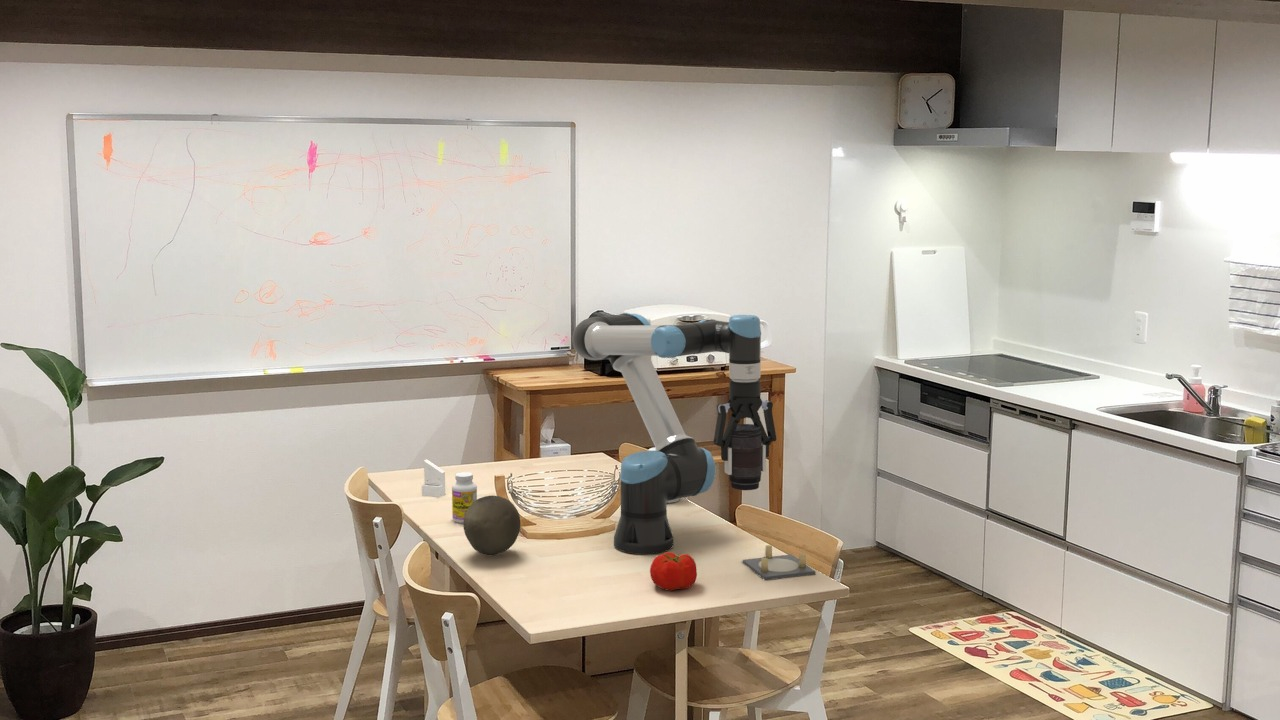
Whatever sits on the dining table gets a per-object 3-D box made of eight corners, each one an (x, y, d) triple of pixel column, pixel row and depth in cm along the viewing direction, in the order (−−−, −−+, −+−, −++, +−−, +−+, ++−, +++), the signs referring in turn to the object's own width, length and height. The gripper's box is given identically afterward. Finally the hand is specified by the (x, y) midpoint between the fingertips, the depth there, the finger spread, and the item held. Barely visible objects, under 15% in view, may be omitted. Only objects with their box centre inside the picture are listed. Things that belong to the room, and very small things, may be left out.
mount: (764, 580, 287) (764, 564, 286) (742, 562, 299) (742, 547, 298) (815, 574, 291) (815, 558, 290) (791, 557, 303) (791, 542, 302)
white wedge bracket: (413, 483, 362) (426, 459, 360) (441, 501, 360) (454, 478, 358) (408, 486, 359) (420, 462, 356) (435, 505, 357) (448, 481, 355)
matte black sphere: (458, 550, 308) (456, 492, 306) (513, 544, 313) (512, 487, 311) (470, 567, 295) (469, 507, 293) (527, 561, 300) (527, 501, 298)
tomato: (641, 588, 281) (641, 557, 280) (669, 575, 290) (669, 545, 289) (678, 598, 275) (679, 566, 274) (706, 585, 283) (707, 554, 282)
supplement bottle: (448, 522, 331) (447, 476, 329) (458, 515, 338) (456, 470, 336) (472, 524, 330) (471, 478, 328) (481, 517, 336) (480, 471, 334)
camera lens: (726, 483, 303) (725, 424, 301) (758, 482, 304) (758, 423, 302) (730, 491, 295) (730, 430, 293) (763, 490, 296) (764, 429, 294)
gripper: (709, 384, 289) (710, 479, 292) (791, 379, 295) (791, 471, 299) (698, 380, 296) (699, 472, 299) (778, 374, 302) (778, 464, 306)
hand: (745, 471), depth 299 cm, fingers closed on camera lens, 8 cm apart
